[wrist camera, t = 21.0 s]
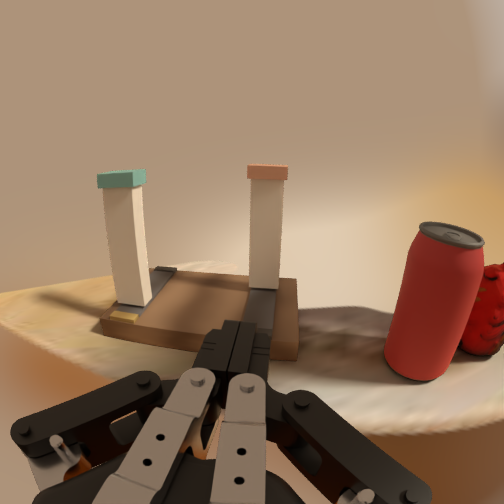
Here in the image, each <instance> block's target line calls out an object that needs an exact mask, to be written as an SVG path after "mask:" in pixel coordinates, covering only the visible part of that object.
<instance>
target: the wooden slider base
mask: <svg viewBox="0 0 504 504" xmlns="http://www.w3.org/2000/svg"><path fill="white" fill-rule="evenodd" d="M149 277H150V285H151V292H152V298H151V300H150V301H149V302H148V303H147V304H146V306H138V305H131V304H124V303H118V300H117V301H116V302H115V303H114V304H113V305H112V306H111V307H110V308H109V309H108V310H107V311H106V312H105V313H104V314H103V315H102V316H101V317H100V322H101V325H102V329H103V333H104V336H109V337H114V338H118V339H123V340H128V341H133V342H139V343H144V344H150V345H155V346H161V347H167V348H174V349H180V350H187V351H194V352H199V350H200V348H201V345H202V343H203V340H204V338H205V335H206V334H207V333H208V332H210V331H211V330H212V329H221V328H222V325H223V323H224V320H225V319H226V320H237V321H249V322H257V333H267V334H268V336H269V338H270V340H271V346H270V359H272V360H289V361H297V354H298V346H299V326H298V303H297V281H296V279H292V278H279V285H278V289H269V288H254V287H249V276H244V275H243V276H242V275H230V274H216V273H202V272H189V271H177V268H173V267H160V266H157V267H156V268H155V269H153V268H149Z"/></svg>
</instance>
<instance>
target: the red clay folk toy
mask: <svg viewBox="0 0 504 504" xmlns="http://www.w3.org/2000/svg"><path fill="white" fill-rule="evenodd" d="M503 344H504V263H503V264H501V265H497V264H493V265H489V266H484V272H483V276H482V279H481V283H480V286H479V289H478V292H477V296H476V299H475V302H474V305H473V308H472V310H471V313H470V316H469V319H468V321H467V324H466V327H465V329H464V332H463V334H462V337H461V339H460V342H459V347H460V349H462V350H464V351H465V352H467V353H469V354H473V355H480V356H483V355H494V354H496V353H497V352H498V351H499V350H500V348H501V346H502V345H503Z"/></svg>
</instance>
